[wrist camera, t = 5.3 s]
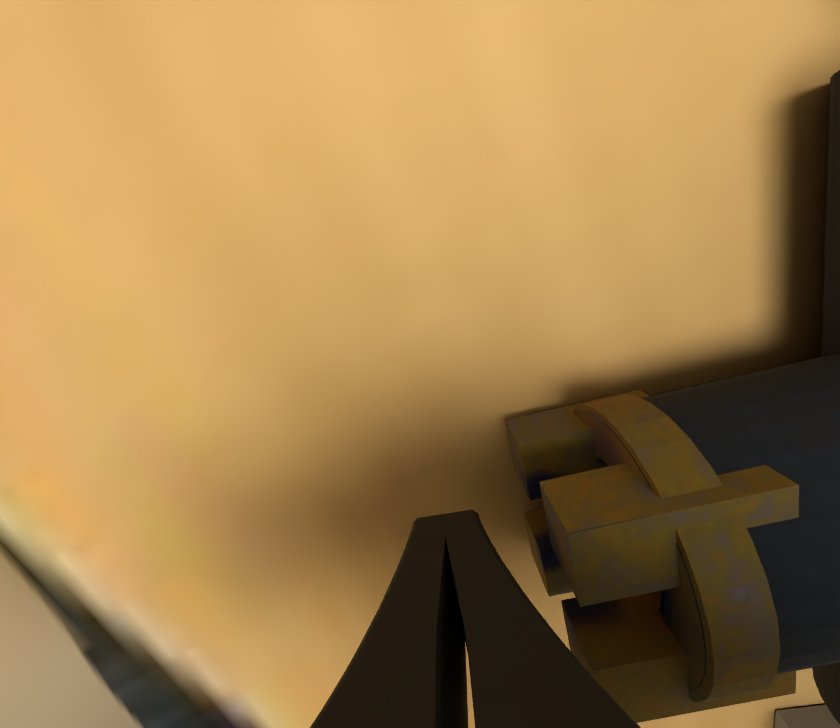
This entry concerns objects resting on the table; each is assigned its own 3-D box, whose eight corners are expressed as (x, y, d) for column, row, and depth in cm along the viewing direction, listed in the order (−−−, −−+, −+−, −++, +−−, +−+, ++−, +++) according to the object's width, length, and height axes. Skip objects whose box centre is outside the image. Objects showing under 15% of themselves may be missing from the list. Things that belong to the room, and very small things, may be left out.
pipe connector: (650, 968, 7) (510, 80, 4) (554, 677, 13) (453, 184, 9) (1307, 866, 7) (2017, -334, 3) (925, 605, 12) (998, 41, 8)
